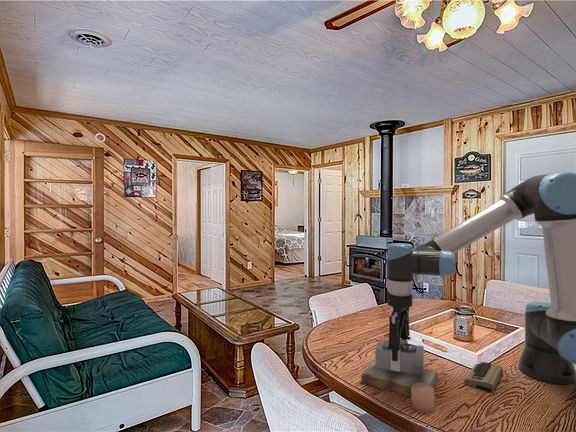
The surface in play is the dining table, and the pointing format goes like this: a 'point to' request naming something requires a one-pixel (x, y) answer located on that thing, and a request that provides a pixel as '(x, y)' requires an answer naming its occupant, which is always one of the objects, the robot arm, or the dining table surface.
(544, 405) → the dining table surface
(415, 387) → the beige egg
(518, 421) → the dining table surface
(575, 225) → the robot arm
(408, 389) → the stand
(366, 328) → the dining table surface
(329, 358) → the dining table surface
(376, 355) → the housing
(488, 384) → the computer
